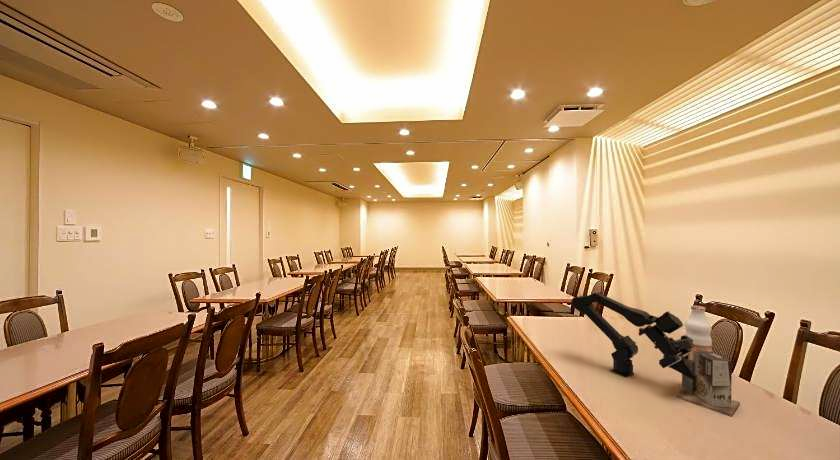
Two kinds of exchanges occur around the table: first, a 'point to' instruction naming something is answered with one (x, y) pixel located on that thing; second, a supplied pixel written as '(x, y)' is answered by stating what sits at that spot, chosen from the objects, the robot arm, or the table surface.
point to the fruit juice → (698, 331)
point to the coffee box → (712, 378)
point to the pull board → (689, 396)
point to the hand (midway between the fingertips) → (695, 377)
